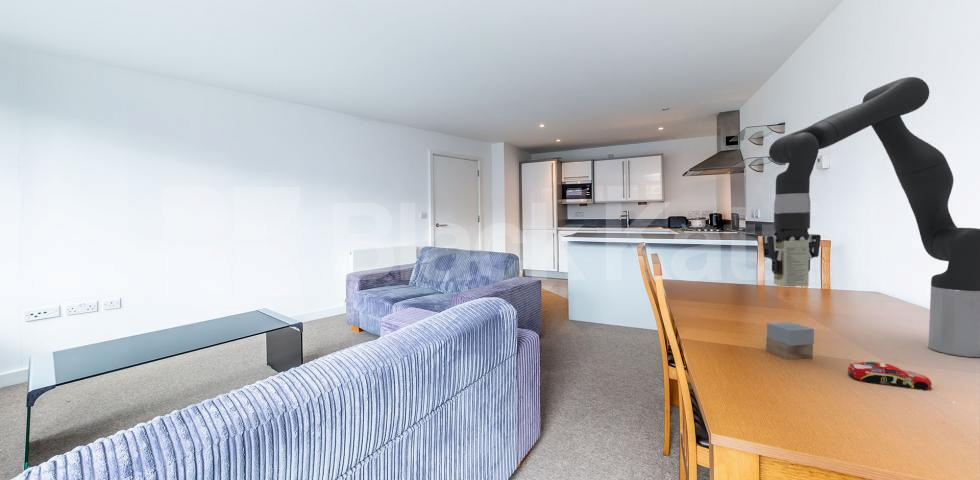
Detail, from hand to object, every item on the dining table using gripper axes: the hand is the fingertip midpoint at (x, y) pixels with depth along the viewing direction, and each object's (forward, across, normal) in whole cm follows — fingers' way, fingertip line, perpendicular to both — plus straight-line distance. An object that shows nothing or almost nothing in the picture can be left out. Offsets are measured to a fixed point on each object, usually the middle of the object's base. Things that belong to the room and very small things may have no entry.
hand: (790, 273), depth 101 cm
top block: (+18, 0, 0) cm, 18 cm away
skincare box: (+3, 0, 0) cm, 3 cm away
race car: (+23, -8, +18) cm, 30 cm away
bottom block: (+22, 0, 0) cm, 22 cm away
